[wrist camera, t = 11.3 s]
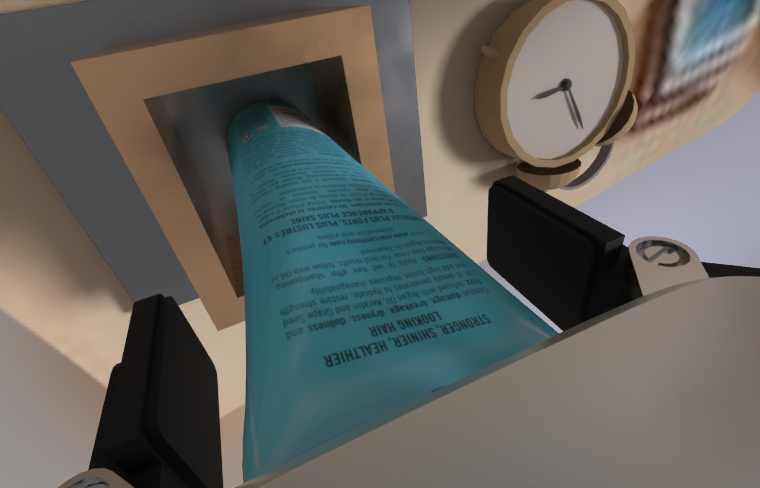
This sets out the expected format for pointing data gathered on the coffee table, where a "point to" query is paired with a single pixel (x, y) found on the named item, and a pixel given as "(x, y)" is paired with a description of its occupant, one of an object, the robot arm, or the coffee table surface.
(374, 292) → the tube
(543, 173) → the alarm clock
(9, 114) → the wooden box on base
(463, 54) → the coffee table surface
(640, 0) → the coffee table surface
